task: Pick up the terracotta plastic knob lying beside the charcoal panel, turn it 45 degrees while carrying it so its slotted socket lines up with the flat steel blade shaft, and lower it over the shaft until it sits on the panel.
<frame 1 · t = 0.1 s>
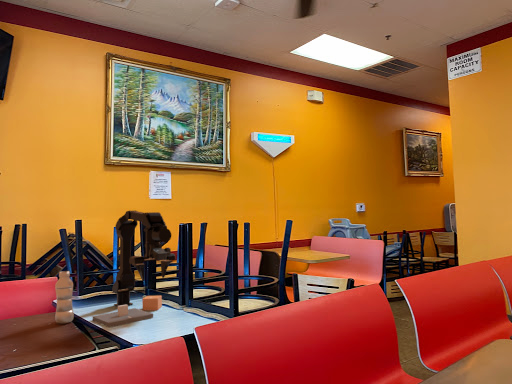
hand: (153, 279, 163), 14 cm above the table, fingers open, 9 cm apart
panel: (123, 318, 156), on the table
plastic bottle: (64, 323, 152), on the table
knob: (152, 308, 172), on the table
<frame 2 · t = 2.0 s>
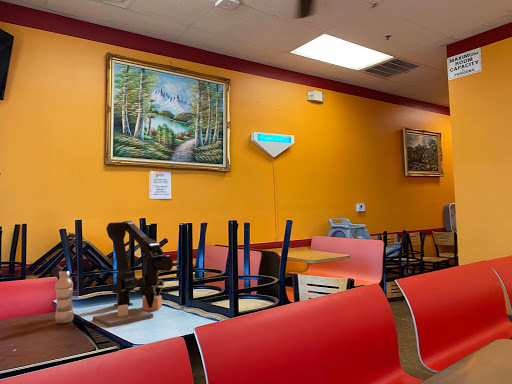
hand: (152, 305, 173), 1 cm above the table, fingers closed on knob, 6 cm apart
knob: (152, 308, 172), on the table, touching gripper
everything else where it was.
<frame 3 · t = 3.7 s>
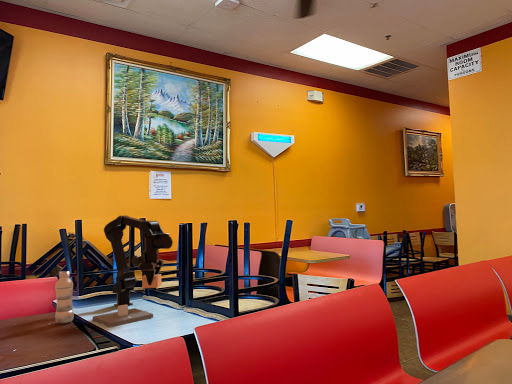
hand: (152, 283, 173), 11 cm above the table, fingers closed on knob, 6 cm apart
knob: (152, 286, 173), point 10 cm above the table, touching gripper
everything else where it was.
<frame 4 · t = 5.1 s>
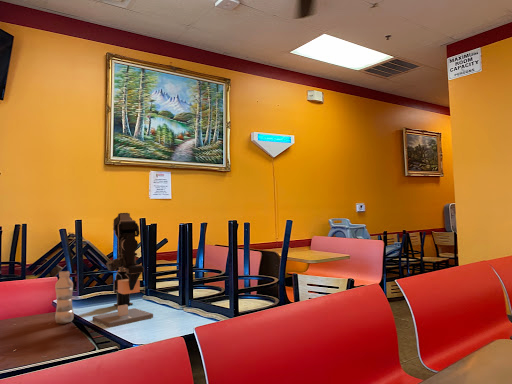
hand: (128, 289, 159), 11 cm above the table, fingers closed on knob, 6 cm apart
knob: (128, 292, 159), point 10 cm above the table, touching gripper
everything else where it was.
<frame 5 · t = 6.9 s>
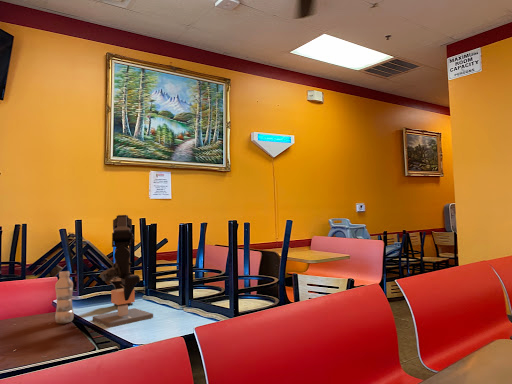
hand: (122, 299, 156), 8 cm above the table, fingers closed on knob, 6 cm apart
knob: (123, 302, 156), point 7 cm above the table, touching gripper
everything else where it was.
when the fingers open (4 cm above the table, at t = 8.3 s): knob drops 1 cm, resting on panel.
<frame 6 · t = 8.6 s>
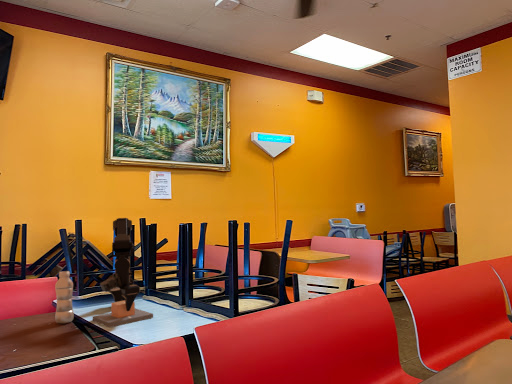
hand: (122, 309, 156), 4 cm above the table, fingers open, 9 cm apart
knob: (123, 315, 156), point 1 cm above the table, touching panel
everything else where it was.
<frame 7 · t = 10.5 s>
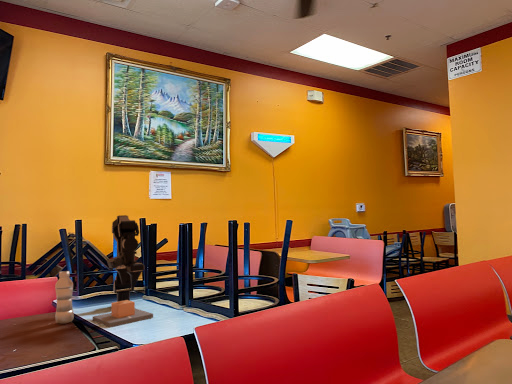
hand: (128, 285, 167), 11 cm above the table, fingers open, 9 cm apart
nothing on the table moved.
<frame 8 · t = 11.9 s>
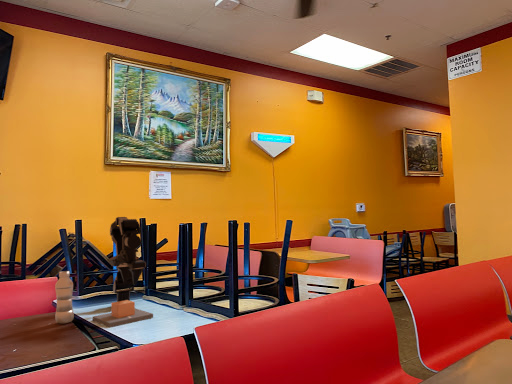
hand: (129, 283, 169), 12 cm above the table, fingers open, 9 cm apart
nothing on the table moved.
at the end: knob 0.1 cm off-centre on the panel, point 1.5 cm above the panel's base; knob tilted 0°; the gripper is holding nothing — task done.
